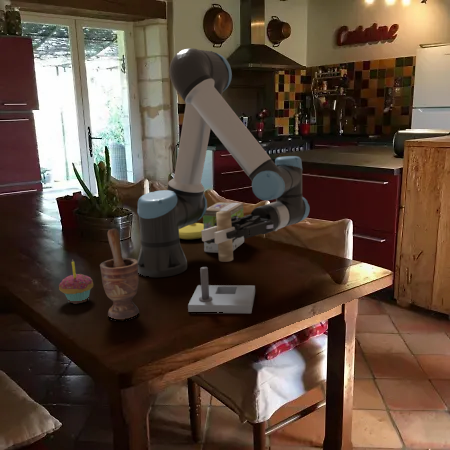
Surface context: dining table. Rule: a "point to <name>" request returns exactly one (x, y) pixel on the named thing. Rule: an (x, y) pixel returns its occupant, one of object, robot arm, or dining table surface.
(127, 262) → the mortar and pestle
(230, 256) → the dowel
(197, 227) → the yellow pot lid
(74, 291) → the cupcake
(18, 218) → the dining table surface
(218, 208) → the tea box
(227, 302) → the board
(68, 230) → the dining table surface
